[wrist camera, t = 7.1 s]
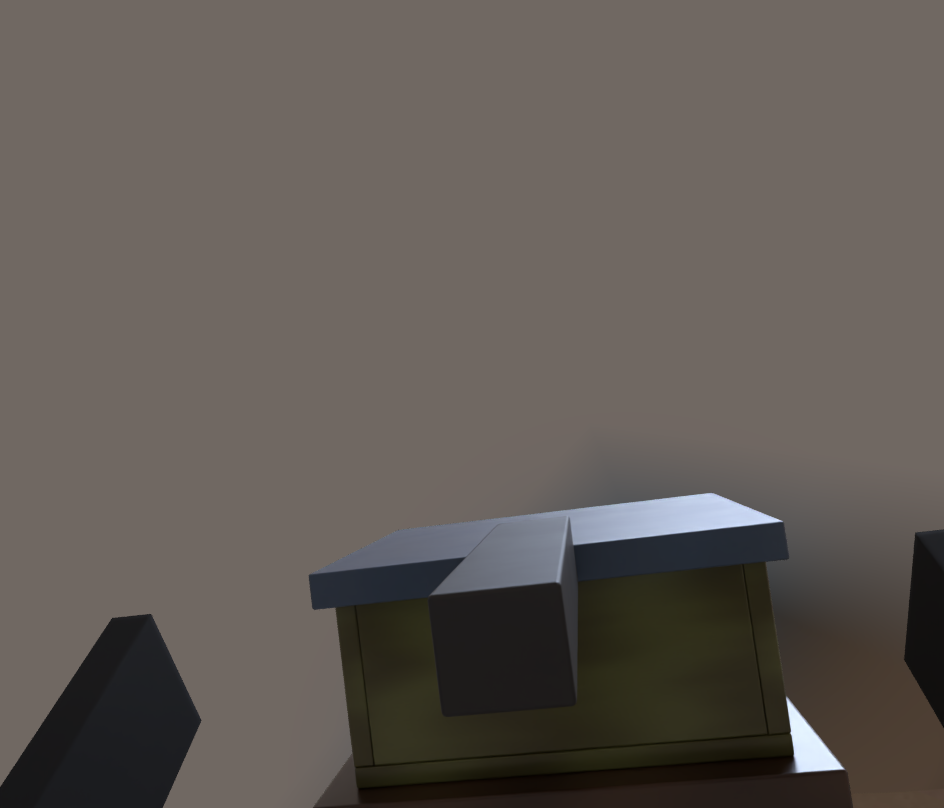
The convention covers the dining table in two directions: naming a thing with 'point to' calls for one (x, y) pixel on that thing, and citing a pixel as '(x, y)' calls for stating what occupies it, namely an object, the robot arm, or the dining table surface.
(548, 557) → the lid
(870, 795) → the dining table surface
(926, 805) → the dining table surface
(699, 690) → the box on pedestal
